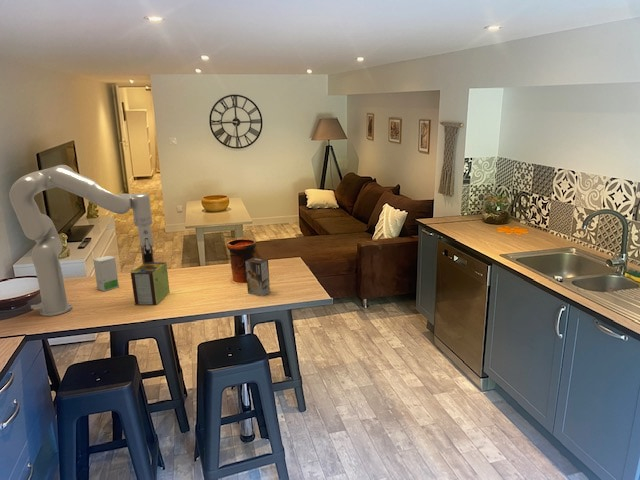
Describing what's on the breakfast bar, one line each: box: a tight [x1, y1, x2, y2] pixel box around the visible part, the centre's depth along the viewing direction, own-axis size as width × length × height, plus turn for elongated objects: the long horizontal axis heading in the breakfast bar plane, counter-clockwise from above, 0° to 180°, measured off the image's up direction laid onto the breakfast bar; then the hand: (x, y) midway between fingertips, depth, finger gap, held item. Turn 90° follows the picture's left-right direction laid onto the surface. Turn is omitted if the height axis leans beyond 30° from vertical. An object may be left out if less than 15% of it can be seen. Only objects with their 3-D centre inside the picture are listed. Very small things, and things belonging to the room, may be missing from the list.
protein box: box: [130, 261, 171, 306], centre depth 220 cm, size 10×15×16 cm
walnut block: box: [140, 245, 155, 265], centre depth 216 cm, size 4×4×8 cm
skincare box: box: [93, 255, 120, 292], centre depth 234 cm, size 8×7×16 cm
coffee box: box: [245, 257, 271, 297], centre depth 224 cm, size 9×6×16 cm
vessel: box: [226, 238, 257, 285], centre depth 241 cm, size 14×14×20 cm
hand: (147, 259), depth 217 cm, fingers closed on walnut block, 4 cm apart
